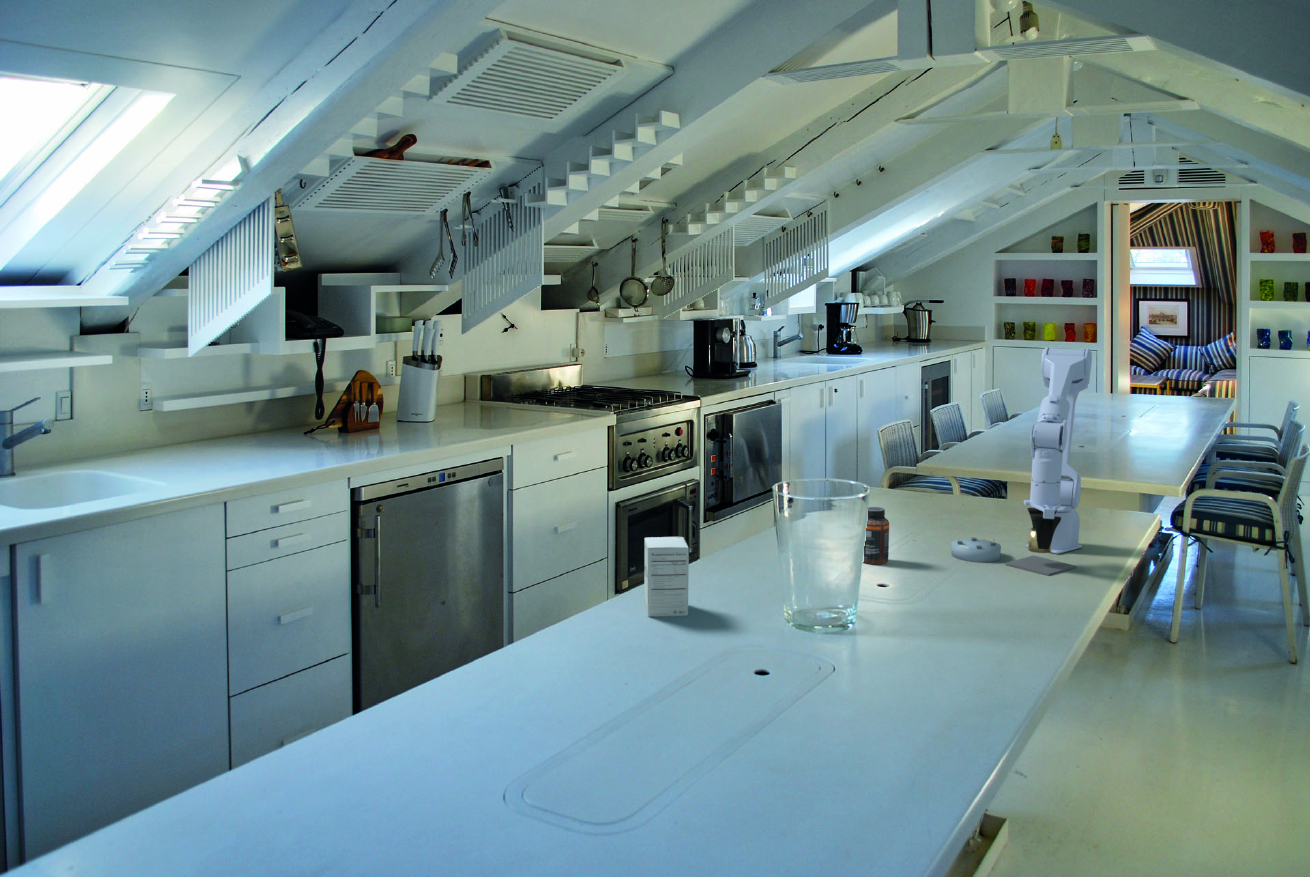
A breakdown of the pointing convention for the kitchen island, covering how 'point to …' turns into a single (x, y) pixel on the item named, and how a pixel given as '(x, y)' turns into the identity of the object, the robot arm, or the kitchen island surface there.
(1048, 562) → the mat
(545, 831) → the kitchen island surface
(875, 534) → the supplement bottle
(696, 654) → the kitchen island surface
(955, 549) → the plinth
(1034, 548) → the knob
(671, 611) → the supplement box
